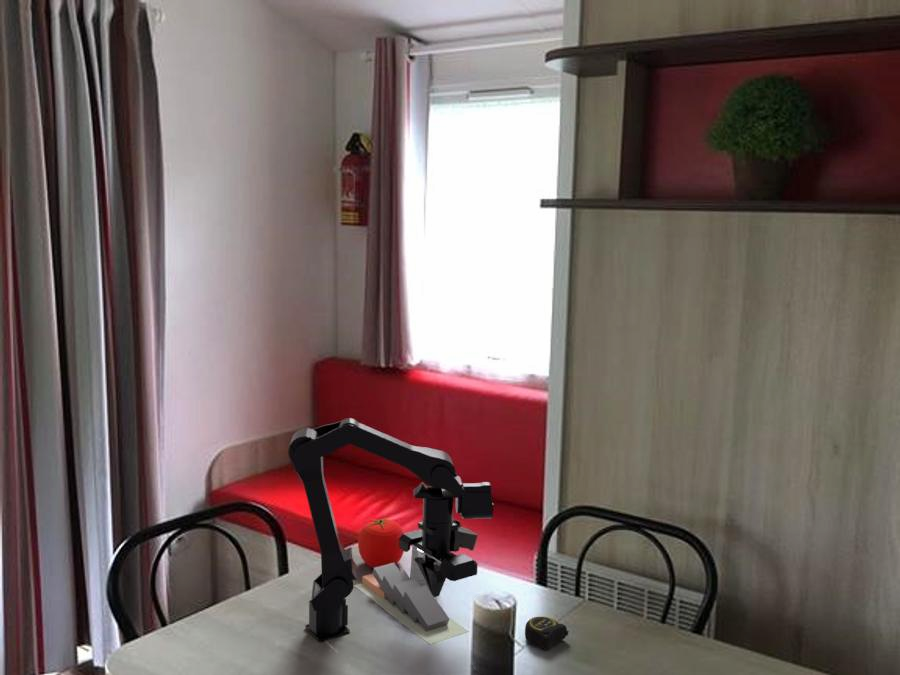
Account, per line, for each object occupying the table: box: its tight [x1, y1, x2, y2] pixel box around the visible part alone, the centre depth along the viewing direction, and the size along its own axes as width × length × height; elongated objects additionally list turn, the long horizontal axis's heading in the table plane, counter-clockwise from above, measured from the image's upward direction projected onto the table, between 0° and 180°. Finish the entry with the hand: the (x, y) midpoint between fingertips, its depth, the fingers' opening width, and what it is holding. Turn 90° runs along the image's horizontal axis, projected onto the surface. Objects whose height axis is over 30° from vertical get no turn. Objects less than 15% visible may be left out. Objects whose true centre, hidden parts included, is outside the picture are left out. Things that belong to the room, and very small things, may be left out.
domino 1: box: [362, 573, 388, 599], centre depth 171 cm, size 5×2×9 cm
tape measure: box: [524, 616, 570, 650], centre depth 152 cm, size 7×7×4 cm
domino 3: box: [382, 569, 411, 614], centre depth 165 cm, size 5×2×9 cm
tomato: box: [357, 517, 405, 569], centre depth 183 cm, size 10×11×11 cm
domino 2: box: [371, 563, 400, 605], centre depth 168 cm, size 5×2×9 cm
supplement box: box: [409, 529, 430, 590], centre depth 173 cm, size 6×6×12 cm
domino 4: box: [393, 578, 421, 623], centre depth 161 cm, size 5×2×9 cm
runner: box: [353, 583, 469, 646], centre depth 163 cm, size 9×29×1 cm, turn 36°
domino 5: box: [404, 586, 450, 631], centre depth 158 cm, size 5×2×9 cm
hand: (435, 595), depth 155 cm, fingers closed
